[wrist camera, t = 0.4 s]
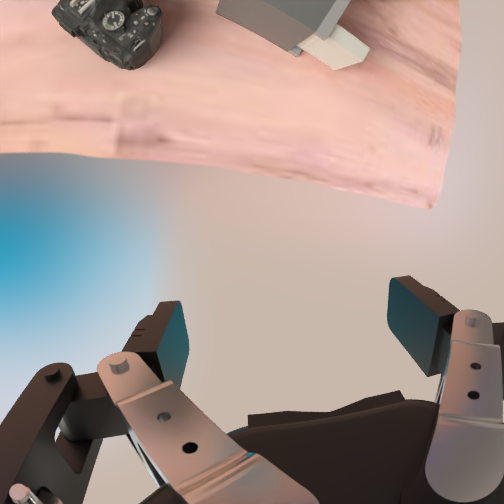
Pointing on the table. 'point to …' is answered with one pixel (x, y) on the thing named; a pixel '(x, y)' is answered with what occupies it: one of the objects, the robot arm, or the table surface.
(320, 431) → the robot arm
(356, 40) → the side door
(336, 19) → the grey box
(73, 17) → the camera
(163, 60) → the table surface
